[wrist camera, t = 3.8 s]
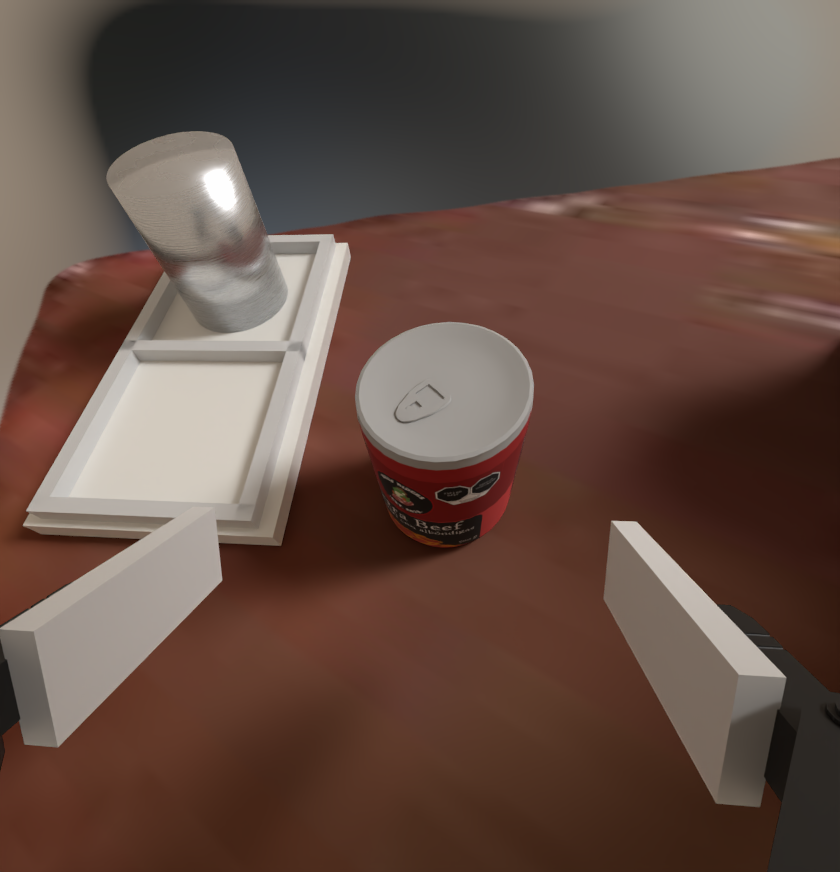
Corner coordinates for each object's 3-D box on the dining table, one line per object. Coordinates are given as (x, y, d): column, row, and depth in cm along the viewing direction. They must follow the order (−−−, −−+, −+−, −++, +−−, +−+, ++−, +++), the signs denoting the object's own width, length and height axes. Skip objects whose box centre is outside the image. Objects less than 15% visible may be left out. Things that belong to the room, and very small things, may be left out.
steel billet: (297, 267, 39) (248, 129, 30) (275, 333, 35) (211, 195, 26) (210, 268, 40) (137, 133, 31) (179, 332, 36) (83, 198, 27)
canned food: (362, 511, 28) (316, 409, 19) (431, 422, 31) (422, 298, 22) (466, 578, 26) (473, 499, 16) (530, 474, 29) (566, 358, 20)
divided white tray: (350, 257, 42) (344, 230, 40) (281, 545, 27) (265, 530, 25) (190, 259, 44) (175, 233, 41) (41, 534, 29) (6, 518, 26)
